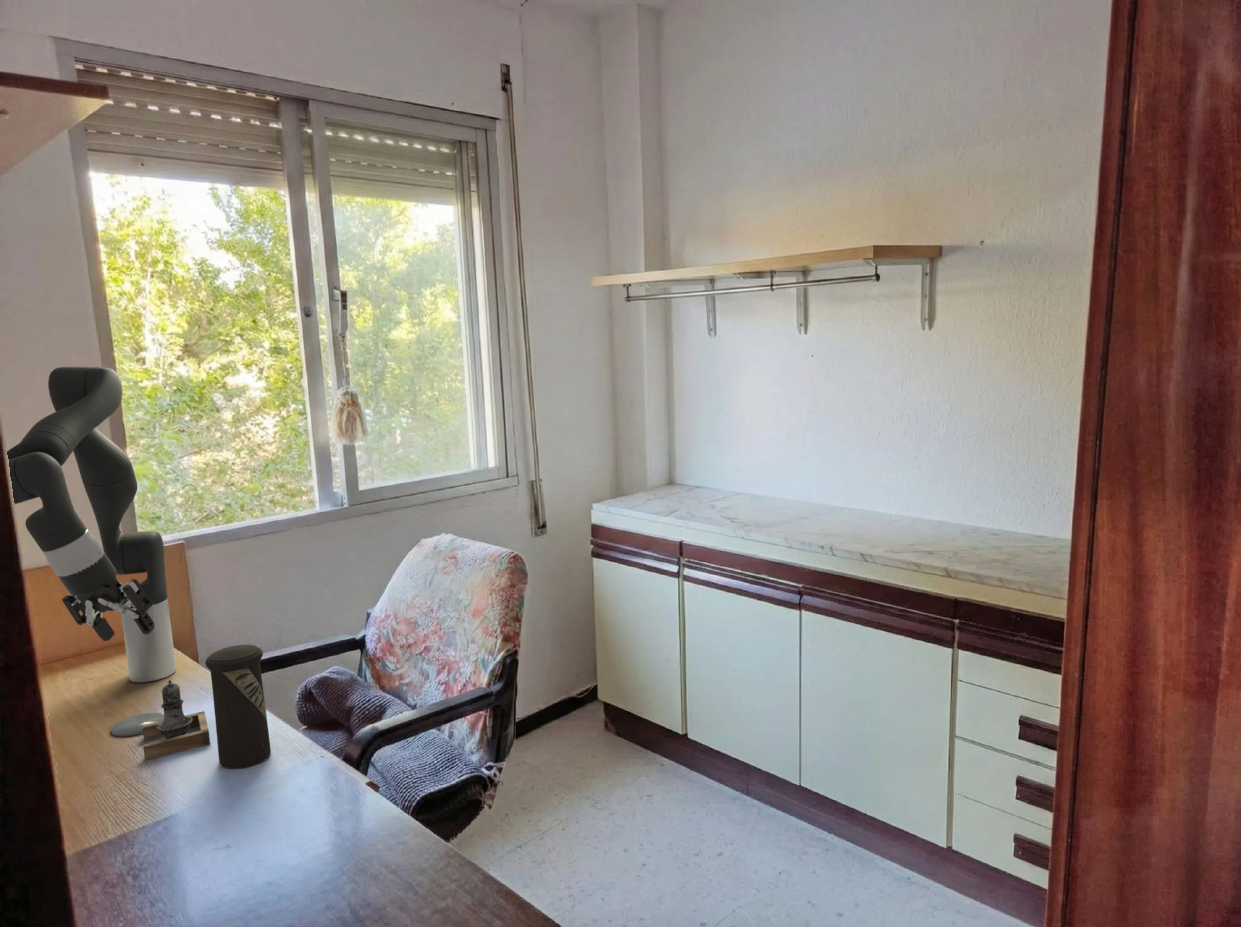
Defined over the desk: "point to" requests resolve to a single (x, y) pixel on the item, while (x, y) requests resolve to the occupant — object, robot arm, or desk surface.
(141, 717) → the grey oval disc
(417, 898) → the desk surface
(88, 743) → the desk surface
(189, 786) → the desk surface
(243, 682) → the container
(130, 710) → the desk surface
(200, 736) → the wooden arch
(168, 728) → the stone finial
